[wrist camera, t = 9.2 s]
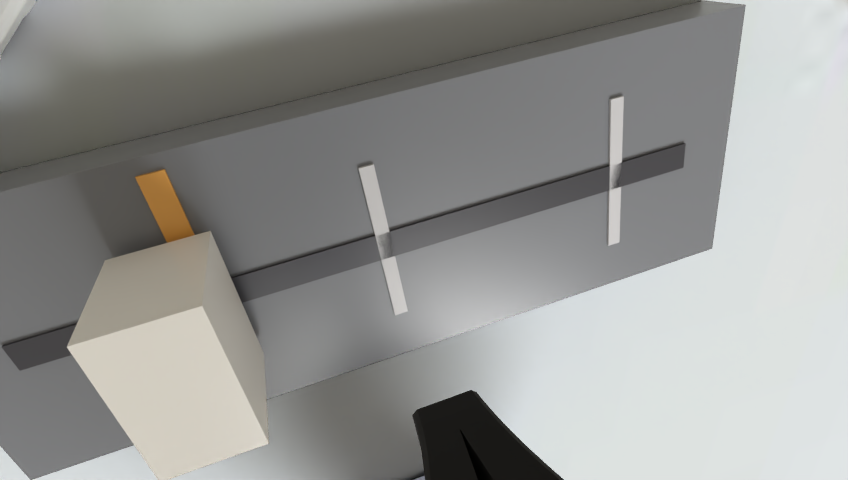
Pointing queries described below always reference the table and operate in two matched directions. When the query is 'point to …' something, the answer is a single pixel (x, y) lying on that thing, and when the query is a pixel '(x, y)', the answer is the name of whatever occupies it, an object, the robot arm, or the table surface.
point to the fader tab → (175, 356)
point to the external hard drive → (12, 18)
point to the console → (379, 209)
